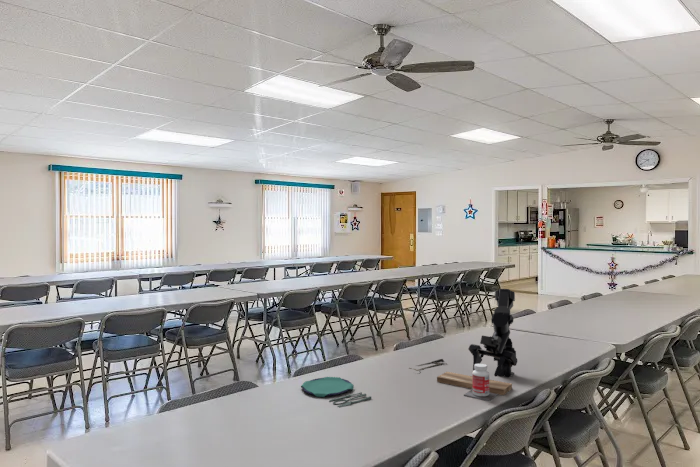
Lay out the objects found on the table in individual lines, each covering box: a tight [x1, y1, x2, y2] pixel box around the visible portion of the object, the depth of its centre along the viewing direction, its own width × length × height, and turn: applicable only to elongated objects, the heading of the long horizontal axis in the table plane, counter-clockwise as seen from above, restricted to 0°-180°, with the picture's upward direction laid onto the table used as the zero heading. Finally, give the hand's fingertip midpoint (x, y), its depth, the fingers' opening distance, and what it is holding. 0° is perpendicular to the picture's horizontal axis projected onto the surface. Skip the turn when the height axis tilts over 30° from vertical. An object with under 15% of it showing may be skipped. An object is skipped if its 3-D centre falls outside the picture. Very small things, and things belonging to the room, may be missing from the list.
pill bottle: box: [471, 363, 490, 397], centre depth 183 cm, size 6×6×11 cm
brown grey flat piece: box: [436, 371, 513, 402], centre depth 191 cm, size 18×28×2 cm, turn 52°
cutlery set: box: [300, 376, 372, 408], centre depth 189 cm, size 20×30×2 cm, turn 32°
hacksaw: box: [408, 358, 448, 375], centre depth 221 cm, size 24×10×2 cm, turn 121°
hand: (484, 373), depth 185 cm, fingers open, 9 cm apart
